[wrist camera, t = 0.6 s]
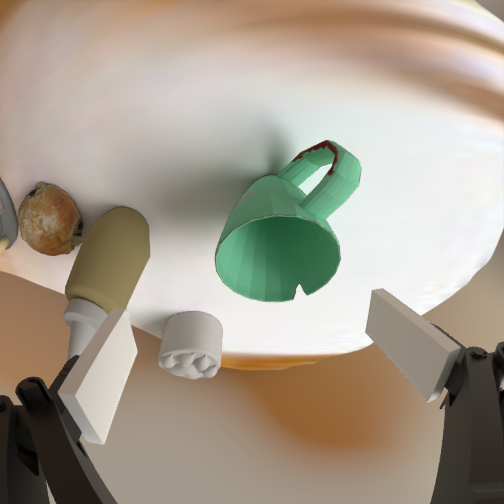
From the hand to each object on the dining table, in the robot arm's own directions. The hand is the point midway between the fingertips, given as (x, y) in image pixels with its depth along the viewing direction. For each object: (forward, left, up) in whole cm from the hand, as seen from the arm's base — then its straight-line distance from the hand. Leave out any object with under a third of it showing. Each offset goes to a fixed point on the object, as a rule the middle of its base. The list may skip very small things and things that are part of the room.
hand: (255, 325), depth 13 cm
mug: (+1, +3, -17) cm, 18 cm away
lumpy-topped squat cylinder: (+32, -9, -17) cm, 38 cm away
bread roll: (+6, -26, -18) cm, 32 cm away
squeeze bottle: (+8, -15, -17) cm, 24 cm away
